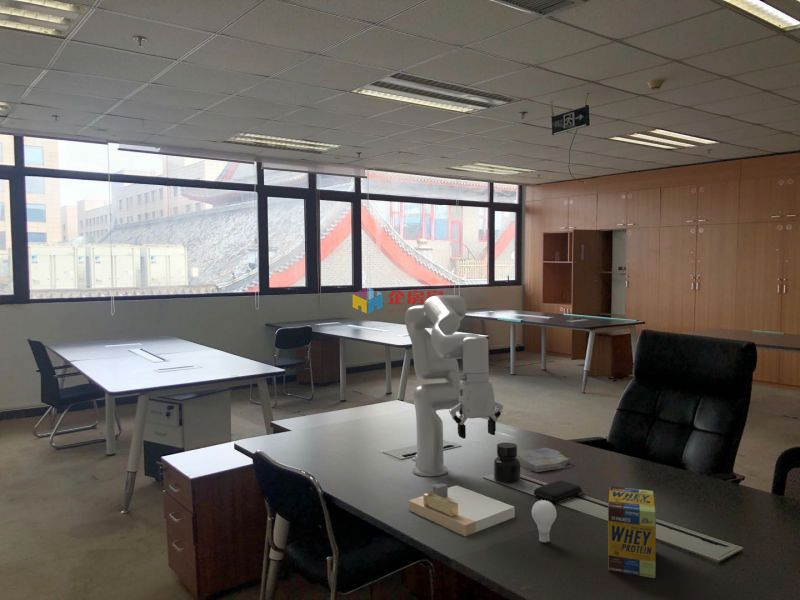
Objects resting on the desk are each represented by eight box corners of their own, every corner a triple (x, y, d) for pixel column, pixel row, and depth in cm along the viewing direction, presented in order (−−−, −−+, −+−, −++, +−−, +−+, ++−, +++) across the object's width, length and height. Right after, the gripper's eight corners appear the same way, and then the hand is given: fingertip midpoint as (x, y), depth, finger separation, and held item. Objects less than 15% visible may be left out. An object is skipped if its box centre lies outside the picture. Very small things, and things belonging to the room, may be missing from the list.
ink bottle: (524, 477, 207) (524, 443, 207) (518, 485, 199) (517, 450, 199) (496, 474, 211) (496, 440, 211) (489, 481, 203) (489, 447, 203)
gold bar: (421, 503, 175) (421, 493, 175) (429, 501, 177) (429, 491, 177) (450, 516, 165) (450, 506, 165) (459, 513, 167) (458, 503, 167)
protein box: (607, 571, 140) (607, 506, 140) (609, 544, 155) (609, 485, 154) (656, 579, 136) (656, 512, 136) (653, 550, 151) (653, 489, 150)
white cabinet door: (408, 510, 179) (408, 488, 179) (456, 494, 192) (456, 474, 192) (465, 536, 161) (464, 512, 160) (514, 517, 173) (514, 494, 173)
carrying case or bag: (557, 507, 181) (587, 496, 190) (557, 497, 181) (587, 486, 190) (530, 497, 190) (560, 487, 198) (530, 487, 190) (560, 478, 198)
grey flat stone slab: (578, 468, 220) (548, 453, 236) (579, 456, 220) (548, 442, 235) (535, 478, 212) (506, 462, 227) (535, 466, 211) (506, 450, 227)
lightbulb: (528, 537, 159) (528, 496, 159) (551, 536, 160) (551, 495, 159) (536, 548, 153) (535, 505, 152) (560, 547, 153) (560, 504, 153)
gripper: (454, 381, 170) (456, 441, 170) (508, 377, 176) (509, 435, 176) (443, 378, 177) (445, 436, 177) (495, 374, 183) (496, 430, 183)
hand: (477, 435), depth 177 cm, fingers open, 9 cm apart
